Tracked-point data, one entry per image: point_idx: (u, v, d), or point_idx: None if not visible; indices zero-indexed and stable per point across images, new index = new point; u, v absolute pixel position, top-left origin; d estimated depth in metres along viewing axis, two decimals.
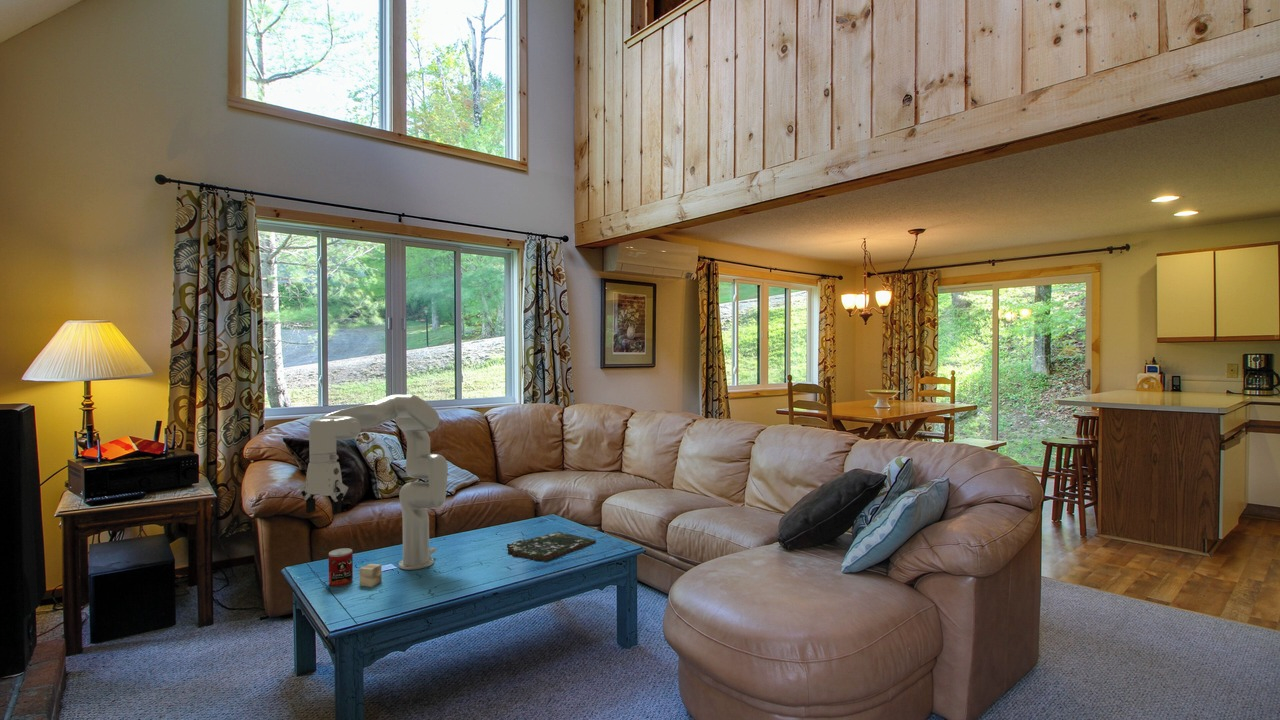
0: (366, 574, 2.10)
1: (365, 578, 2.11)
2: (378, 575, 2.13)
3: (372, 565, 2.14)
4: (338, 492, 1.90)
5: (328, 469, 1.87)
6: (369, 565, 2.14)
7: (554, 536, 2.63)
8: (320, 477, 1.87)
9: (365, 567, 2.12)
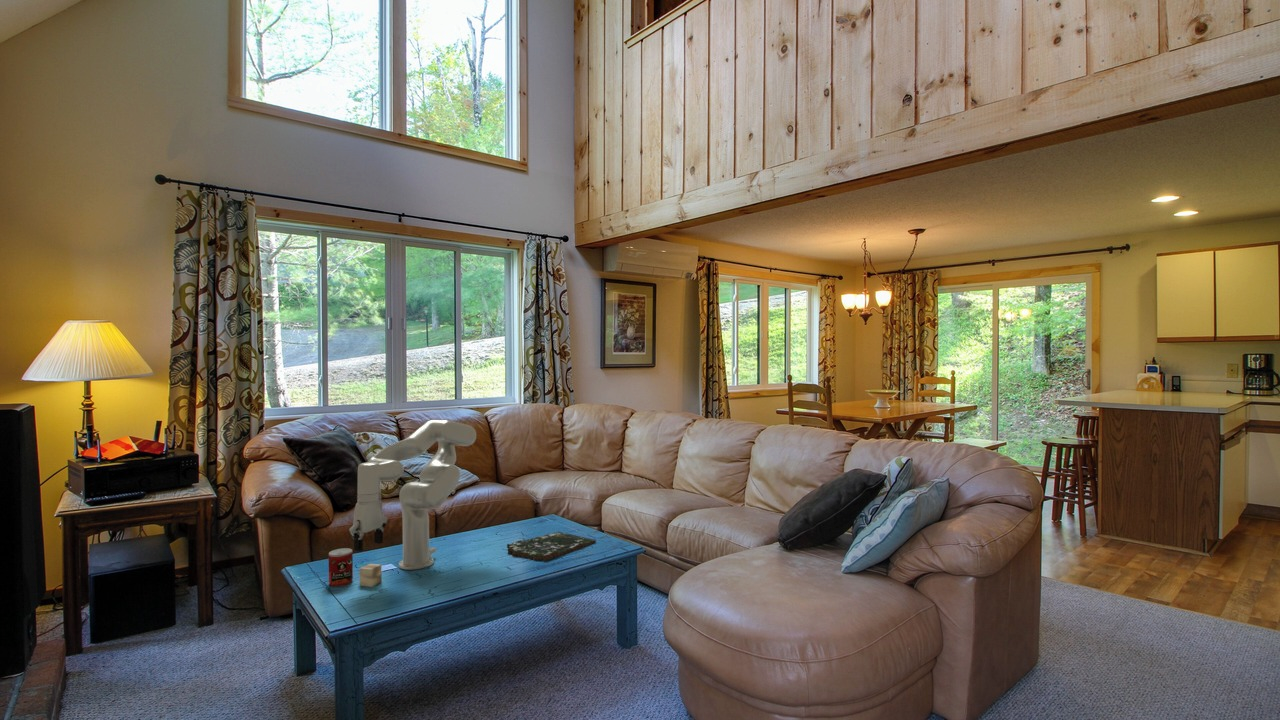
0: (366, 574, 2.10)
1: (365, 578, 2.11)
2: (378, 575, 2.13)
3: (372, 565, 2.14)
4: None
5: (381, 504, 2.16)
6: (369, 565, 2.14)
7: (554, 537, 2.63)
8: (377, 513, 2.13)
9: (365, 567, 2.12)
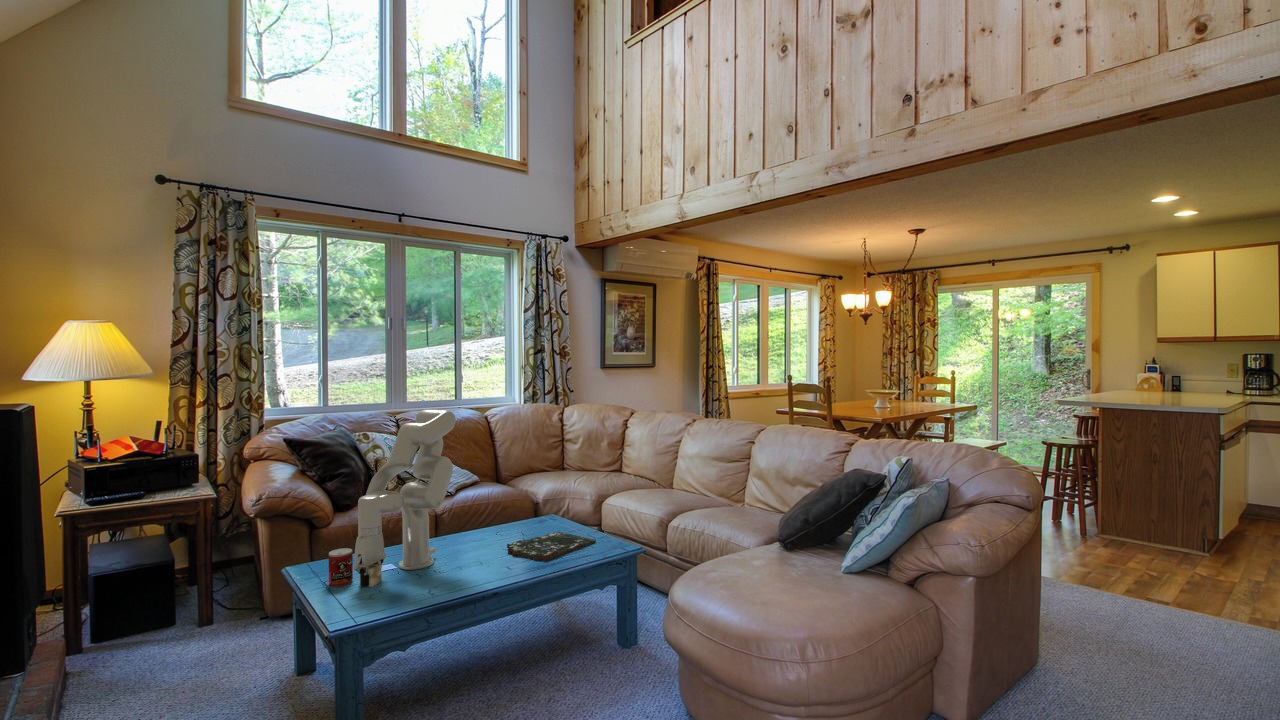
0: None
1: None
2: (378, 575, 2.13)
3: (372, 565, 2.14)
4: None
5: (382, 536, 2.16)
6: (369, 565, 2.14)
7: (554, 536, 2.63)
8: (378, 546, 2.13)
9: None
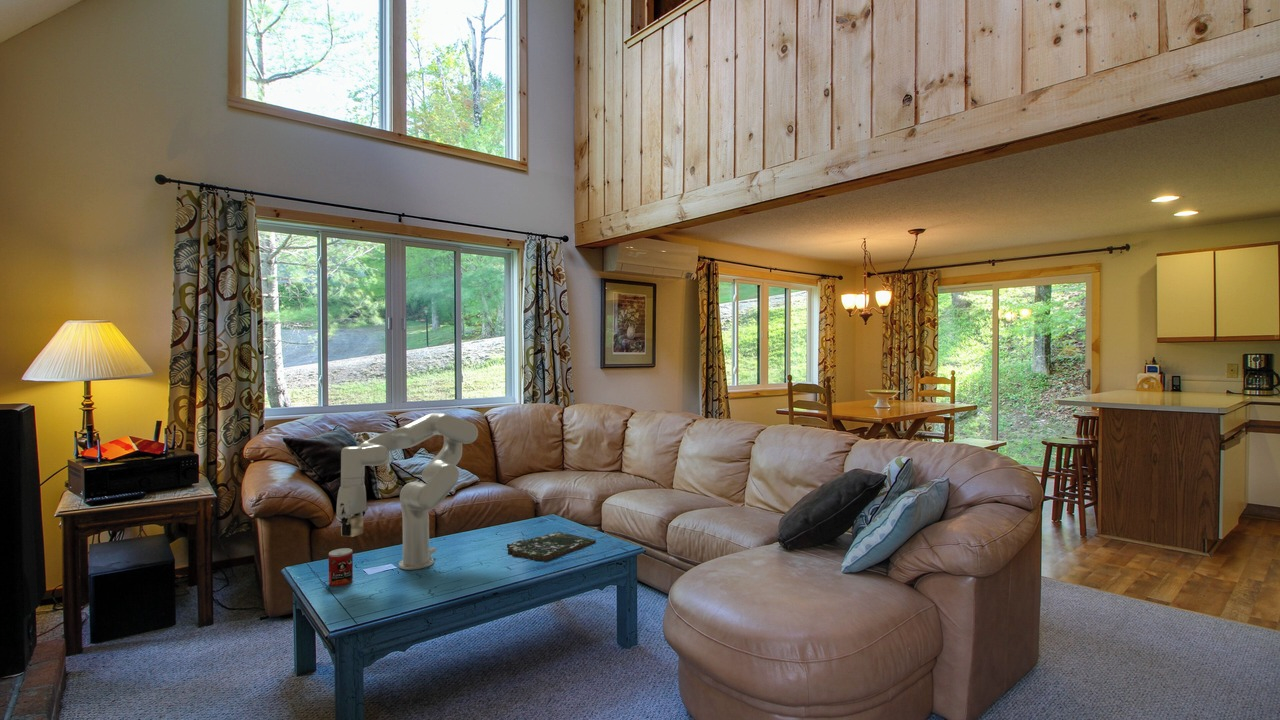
0: None
1: None
2: (359, 526, 2.13)
3: (354, 516, 2.15)
4: None
5: (364, 488, 2.17)
6: (351, 516, 2.15)
7: (554, 537, 2.63)
8: (360, 497, 2.14)
9: None
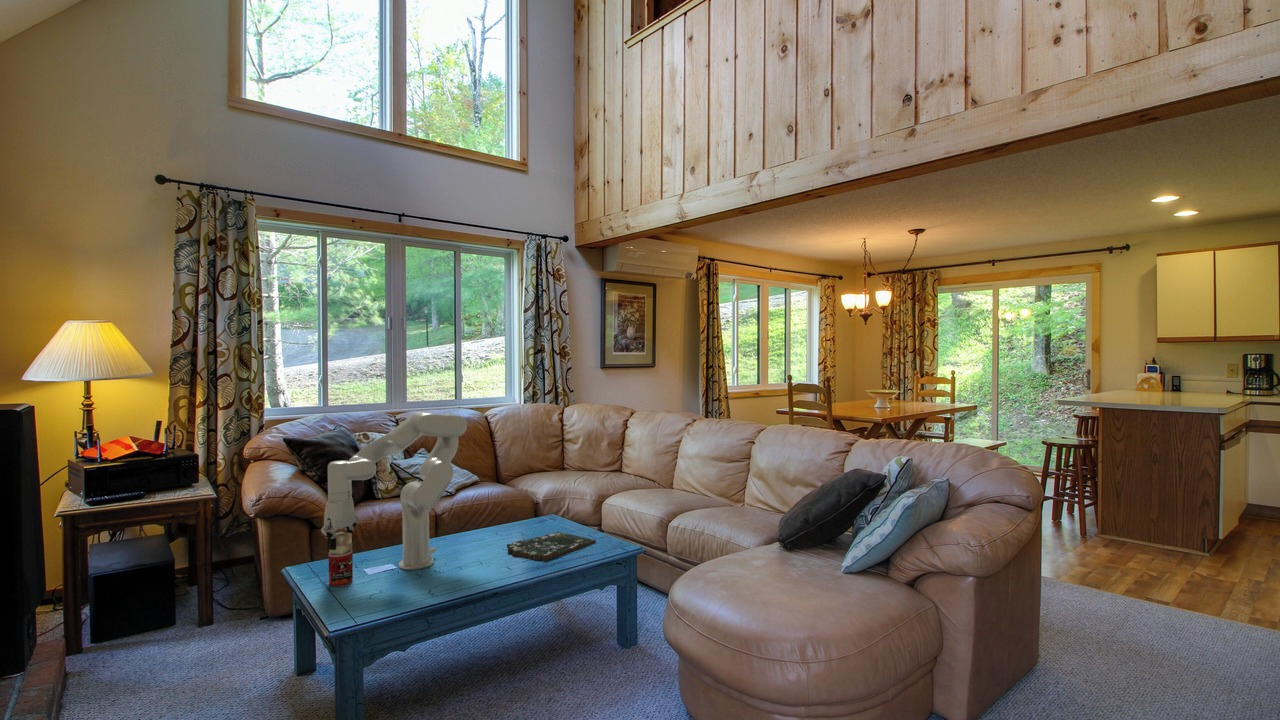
0: (336, 541, 2.12)
1: None
2: (348, 543, 2.14)
3: (342, 533, 2.16)
4: None
5: (352, 502, 2.17)
6: (339, 533, 2.16)
7: (554, 537, 2.63)
8: (348, 511, 2.15)
9: (335, 535, 2.14)
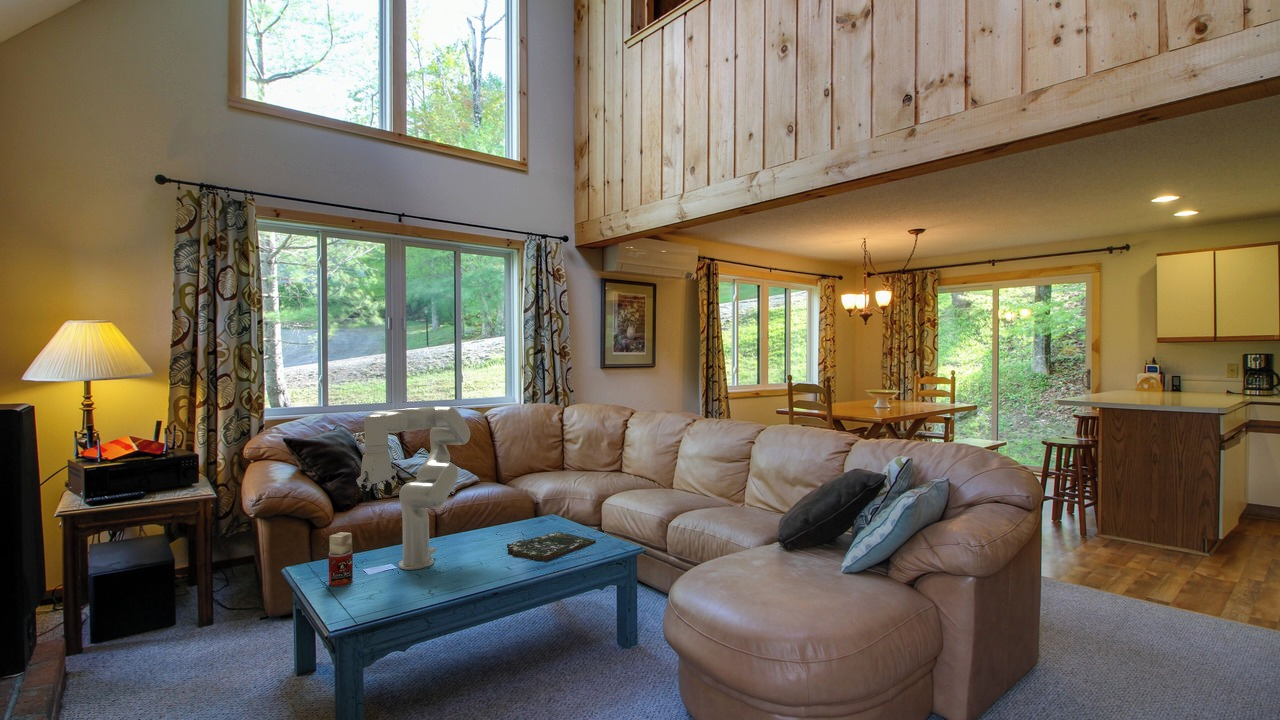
0: (336, 541, 2.12)
1: (335, 545, 2.12)
2: (348, 543, 2.14)
3: (342, 533, 2.16)
4: None
5: (389, 456, 2.14)
6: (339, 533, 2.16)
7: (554, 536, 2.63)
8: (384, 465, 2.12)
9: (335, 535, 2.14)
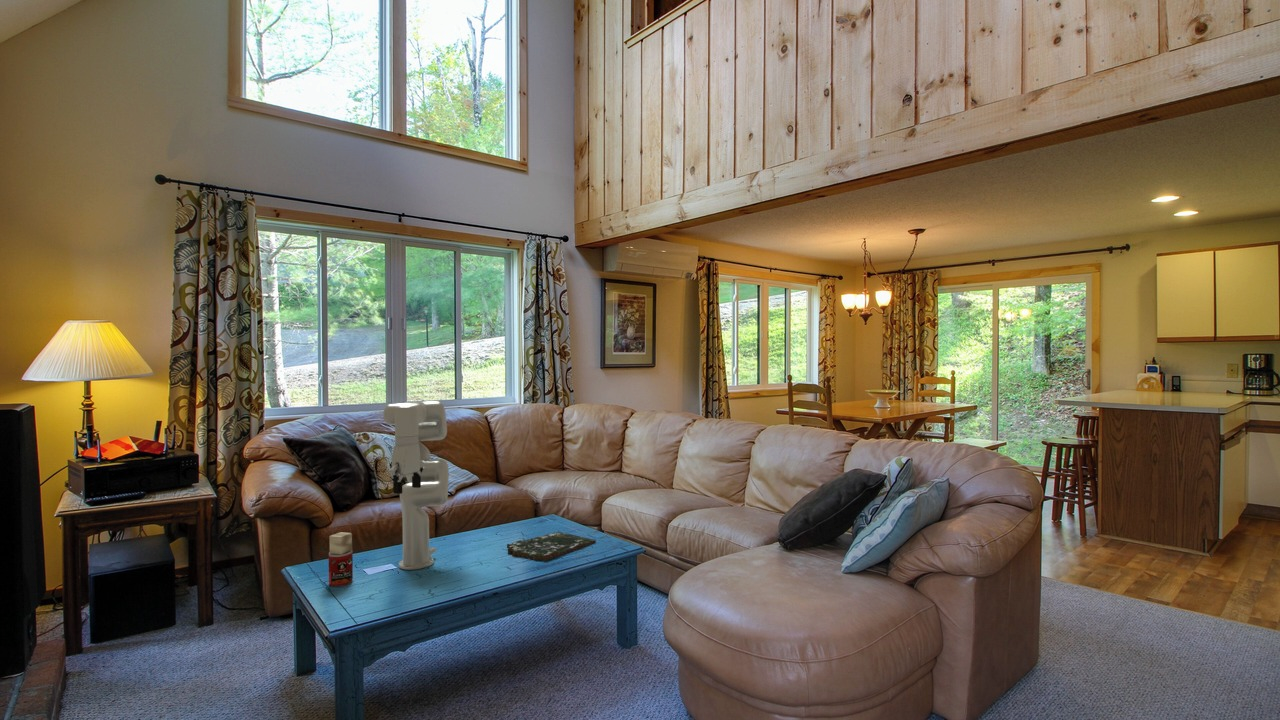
0: (336, 541, 2.12)
1: (335, 545, 2.12)
2: (348, 543, 2.14)
3: (342, 533, 2.16)
4: None
5: (418, 448, 2.13)
6: (339, 533, 2.16)
7: (553, 536, 2.63)
8: (415, 456, 2.10)
9: (335, 535, 2.14)
